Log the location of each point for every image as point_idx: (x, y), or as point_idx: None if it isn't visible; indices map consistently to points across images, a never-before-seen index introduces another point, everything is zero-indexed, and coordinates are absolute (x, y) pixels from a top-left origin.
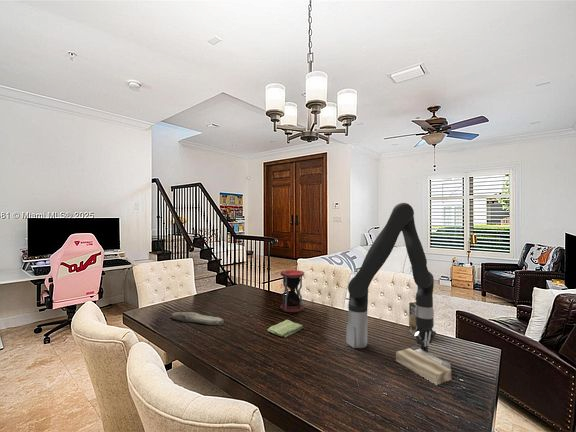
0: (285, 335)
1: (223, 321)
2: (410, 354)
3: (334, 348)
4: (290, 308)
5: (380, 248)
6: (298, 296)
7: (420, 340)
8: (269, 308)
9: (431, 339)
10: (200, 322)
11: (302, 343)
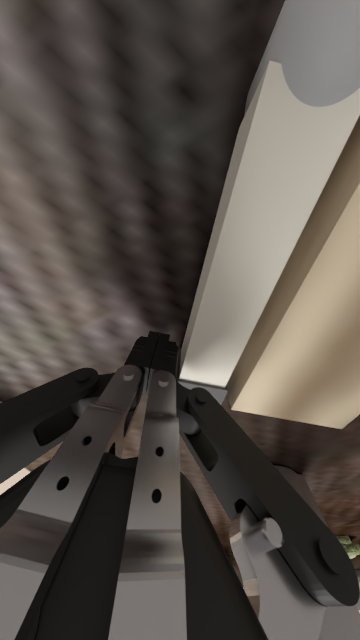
0: (348, 542)
1: (357, 577)
2: (328, 378)
3: (338, 491)
4: None
5: None
6: None
7: (245, 462)
8: (234, 562)
9: (49, 403)
10: None
11: (356, 520)
